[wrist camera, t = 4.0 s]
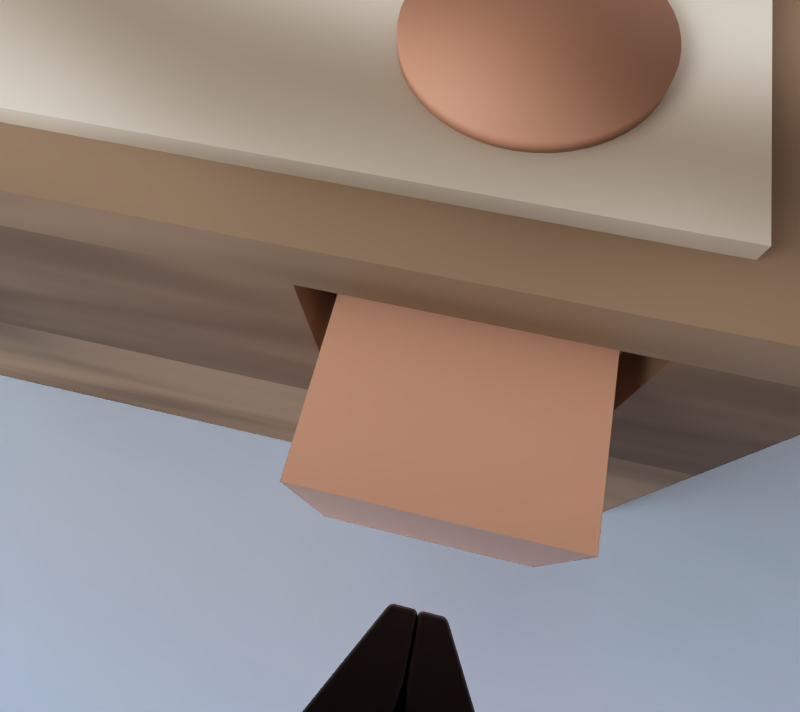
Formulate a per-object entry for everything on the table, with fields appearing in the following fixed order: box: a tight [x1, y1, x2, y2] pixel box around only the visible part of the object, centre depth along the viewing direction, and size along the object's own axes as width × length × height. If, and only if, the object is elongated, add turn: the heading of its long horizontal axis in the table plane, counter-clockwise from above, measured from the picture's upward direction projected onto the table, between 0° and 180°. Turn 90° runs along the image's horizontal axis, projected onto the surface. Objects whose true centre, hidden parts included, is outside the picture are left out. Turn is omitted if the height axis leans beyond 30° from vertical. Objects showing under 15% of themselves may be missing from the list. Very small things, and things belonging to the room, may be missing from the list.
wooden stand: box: [0, 0, 800, 511], centre depth 14 cm, size 7×24×13 cm, turn 77°
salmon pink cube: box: [280, 294, 619, 567], centre depth 10 cm, size 4×4×4 cm
